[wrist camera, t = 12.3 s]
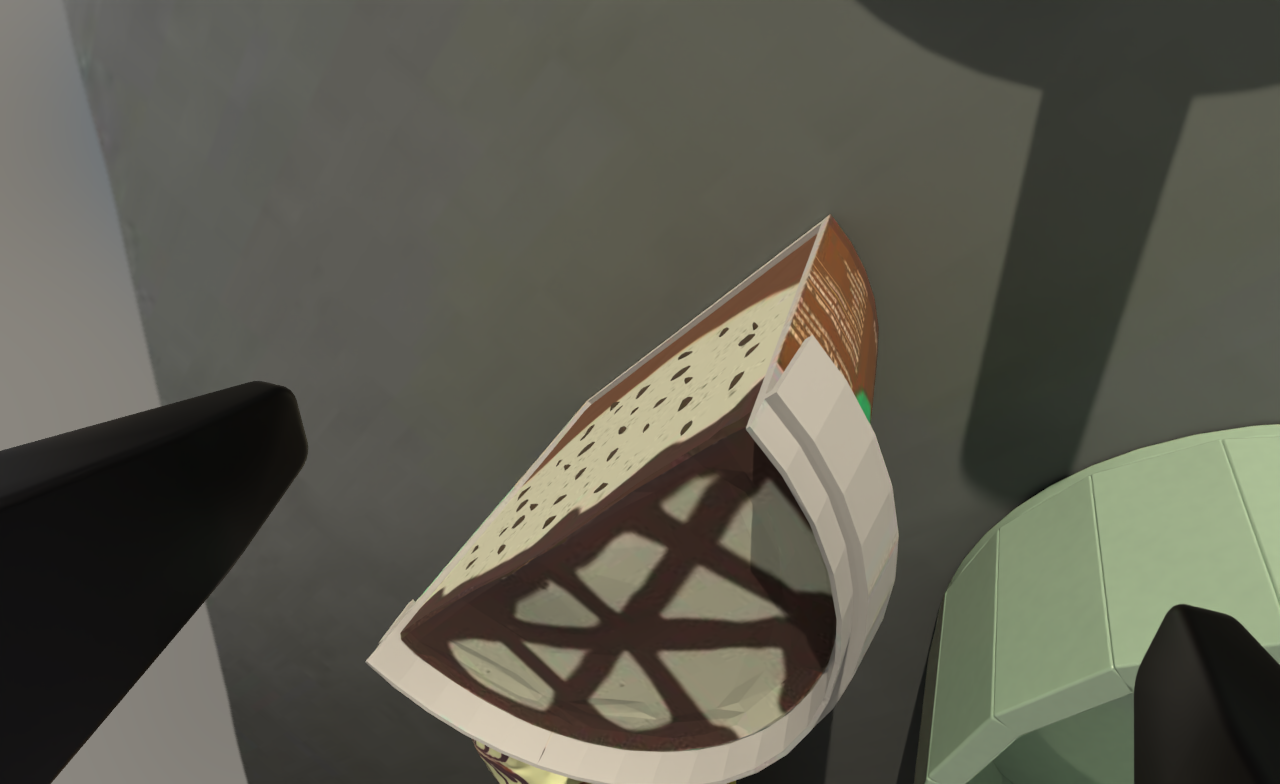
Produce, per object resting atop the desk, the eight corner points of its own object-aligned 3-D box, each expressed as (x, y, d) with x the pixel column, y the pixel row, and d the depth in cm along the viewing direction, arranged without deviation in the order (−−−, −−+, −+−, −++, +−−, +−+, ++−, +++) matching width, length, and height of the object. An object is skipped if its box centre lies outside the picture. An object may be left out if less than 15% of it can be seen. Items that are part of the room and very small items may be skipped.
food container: (688, 558, 26) (549, 850, 19) (558, 422, 26) (353, 668, 18) (1048, 375, 19) (1069, 730, 11) (883, 173, 18) (780, 407, 10)
